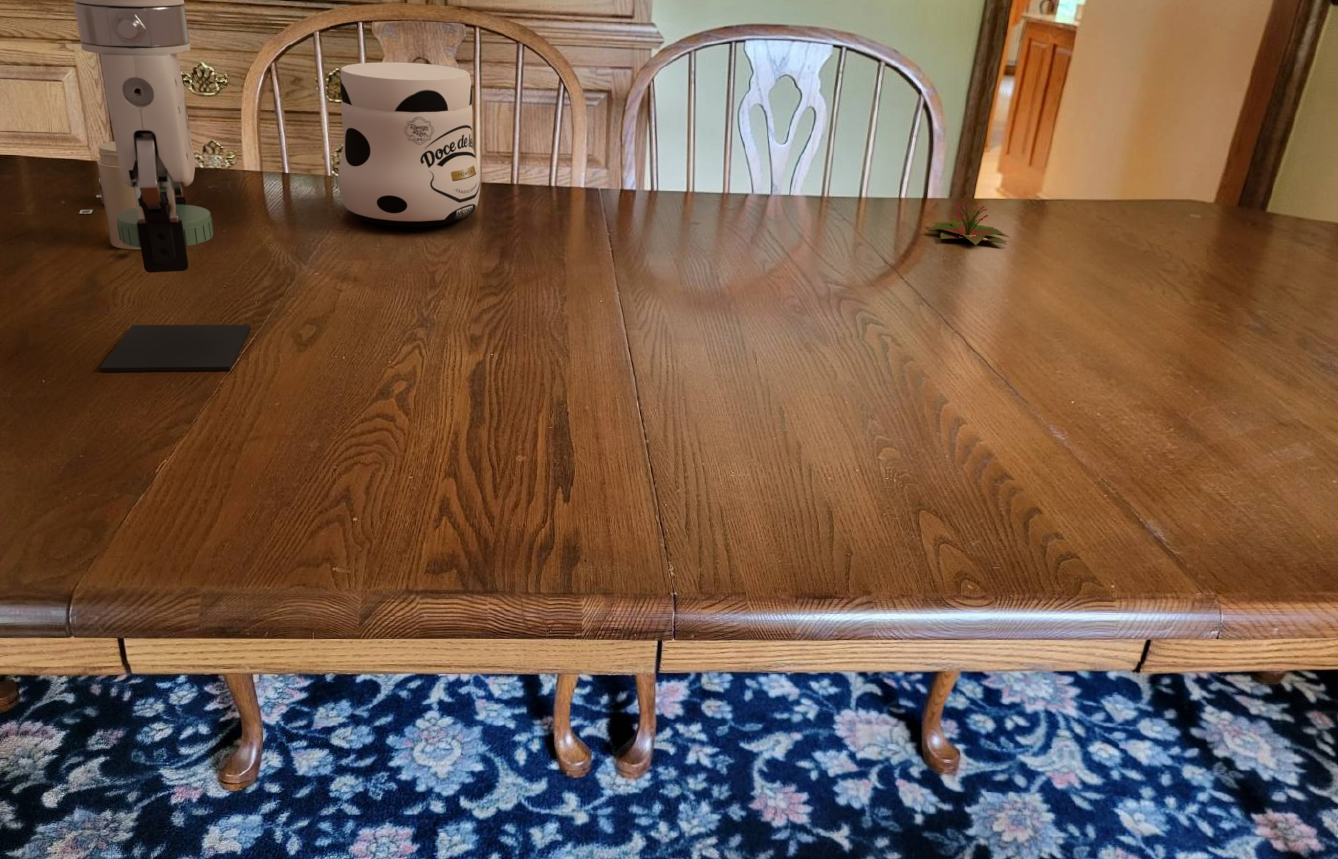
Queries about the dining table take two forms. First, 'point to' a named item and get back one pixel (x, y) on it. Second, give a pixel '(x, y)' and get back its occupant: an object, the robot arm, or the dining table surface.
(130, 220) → the honey lid
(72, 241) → the dining table surface
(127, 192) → the honey jar
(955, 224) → the lily flower
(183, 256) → the robot arm
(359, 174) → the milk container
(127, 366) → the coaster
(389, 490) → the dining table surface
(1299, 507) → the dining table surface
